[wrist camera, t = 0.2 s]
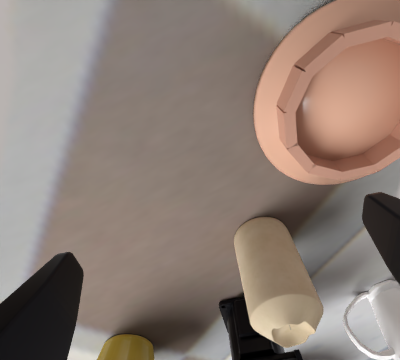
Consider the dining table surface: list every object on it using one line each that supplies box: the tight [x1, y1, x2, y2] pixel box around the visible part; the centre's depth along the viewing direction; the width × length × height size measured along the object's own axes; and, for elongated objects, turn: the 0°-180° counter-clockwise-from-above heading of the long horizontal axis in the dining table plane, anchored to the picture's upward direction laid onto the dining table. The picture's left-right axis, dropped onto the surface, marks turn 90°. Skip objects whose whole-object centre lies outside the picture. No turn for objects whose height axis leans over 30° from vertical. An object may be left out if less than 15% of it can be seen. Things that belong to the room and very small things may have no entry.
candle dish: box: [253, 0, 400, 185], centre depth 20 cm, size 14×14×2 cm
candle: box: [234, 217, 323, 348], centre depth 24 cm, size 6×6×10 cm
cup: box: [343, 280, 400, 360], centre depth 30 cm, size 7×10×8 cm
